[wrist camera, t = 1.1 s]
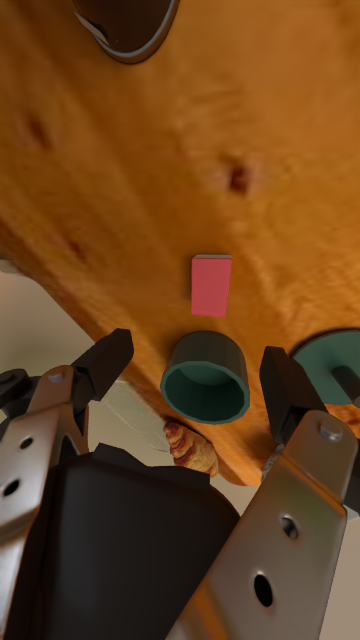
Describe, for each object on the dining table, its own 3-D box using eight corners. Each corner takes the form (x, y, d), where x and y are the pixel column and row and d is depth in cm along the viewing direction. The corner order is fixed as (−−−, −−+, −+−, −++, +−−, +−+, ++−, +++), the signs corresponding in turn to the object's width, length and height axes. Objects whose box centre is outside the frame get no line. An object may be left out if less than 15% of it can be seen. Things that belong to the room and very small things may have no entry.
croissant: (225, 449, 47) (240, 482, 39) (197, 472, 47) (206, 509, 39) (179, 401, 42) (185, 428, 34) (147, 427, 42) (146, 459, 34)
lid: (353, 307, 21) (395, 333, 16) (425, 368, 22) (485, 410, 17) (266, 365, 28) (276, 396, 23) (325, 409, 29) (347, 448, 24)
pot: (201, 316, 27) (193, 344, 20) (261, 361, 28) (271, 401, 21) (162, 360, 33) (146, 391, 26) (212, 395, 34) (208, 433, 28)
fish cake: (197, 254, 23) (191, 258, 19) (231, 254, 22) (232, 259, 18) (195, 303, 26) (191, 314, 22) (225, 305, 25) (225, 317, 21)
